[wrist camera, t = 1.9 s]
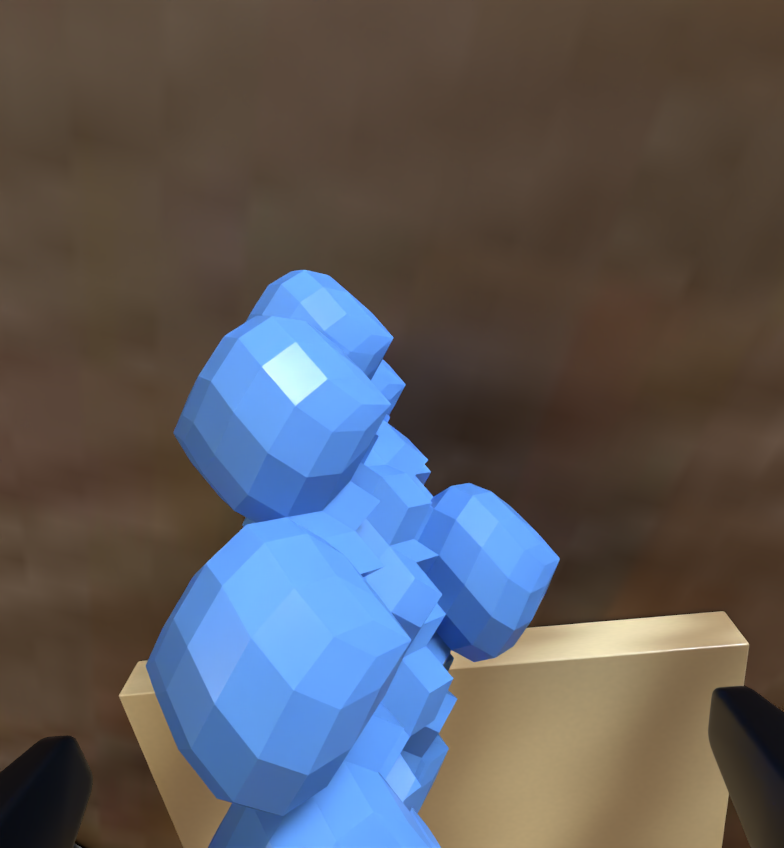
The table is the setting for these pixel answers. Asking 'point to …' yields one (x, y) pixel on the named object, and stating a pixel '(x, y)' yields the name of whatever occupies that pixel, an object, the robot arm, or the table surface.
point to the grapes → (329, 585)
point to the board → (545, 741)
